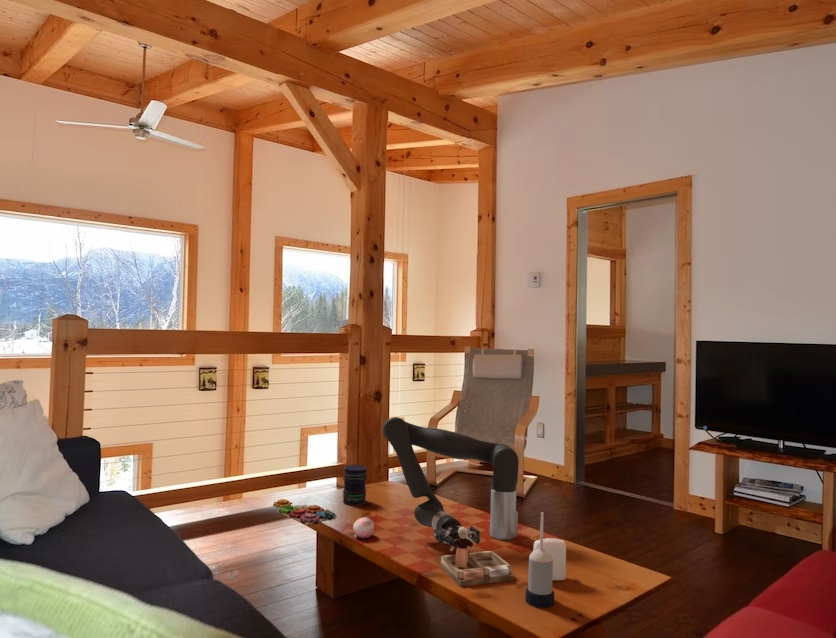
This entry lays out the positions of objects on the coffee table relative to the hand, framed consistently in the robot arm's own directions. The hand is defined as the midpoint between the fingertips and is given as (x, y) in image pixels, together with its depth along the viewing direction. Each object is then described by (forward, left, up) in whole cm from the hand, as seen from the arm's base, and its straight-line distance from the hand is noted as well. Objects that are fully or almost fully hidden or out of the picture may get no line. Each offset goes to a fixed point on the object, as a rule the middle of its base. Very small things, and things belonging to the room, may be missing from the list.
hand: (465, 542), depth 191 cm
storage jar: (+15, -84, -10) cm, 86 cm away
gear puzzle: (+39, -76, -11) cm, 86 cm away
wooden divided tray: (-4, 0, -10) cm, 11 cm away
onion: (+22, -42, -10) cm, 48 cm away
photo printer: (-24, +10, -10) cm, 28 cm away
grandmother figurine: (0, -2, -9) cm, 9 cm away
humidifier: (-13, +22, -10) cm, 28 cm away
